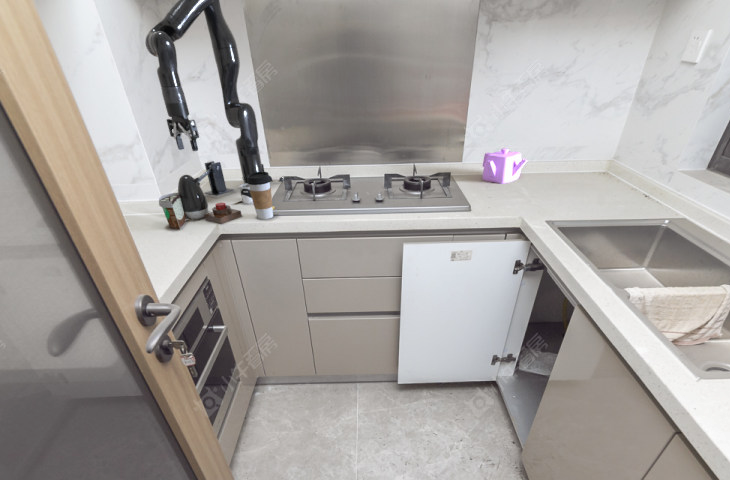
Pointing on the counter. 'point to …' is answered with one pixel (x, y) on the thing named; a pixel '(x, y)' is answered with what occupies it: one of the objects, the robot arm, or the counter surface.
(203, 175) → the tap lever
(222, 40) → the robot arm
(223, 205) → the button
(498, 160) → the teakettle
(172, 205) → the food container
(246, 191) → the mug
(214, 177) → the tap bracket
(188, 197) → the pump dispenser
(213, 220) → the button block
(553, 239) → the counter surface
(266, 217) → the coffee cup
